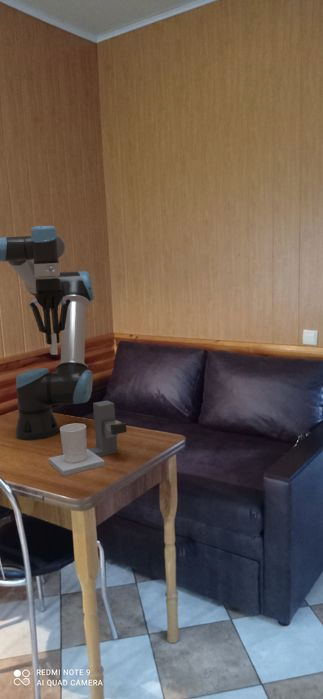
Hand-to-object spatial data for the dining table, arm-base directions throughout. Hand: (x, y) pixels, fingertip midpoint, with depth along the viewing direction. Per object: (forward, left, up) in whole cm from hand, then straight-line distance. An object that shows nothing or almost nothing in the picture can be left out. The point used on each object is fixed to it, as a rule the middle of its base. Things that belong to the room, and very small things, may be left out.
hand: (54, 354), depth 166 cm
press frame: (+12, +4, -32) cm, 35 cm away
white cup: (+12, 0, -31) cm, 33 cm away
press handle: (+15, +12, -26) cm, 32 cm away
